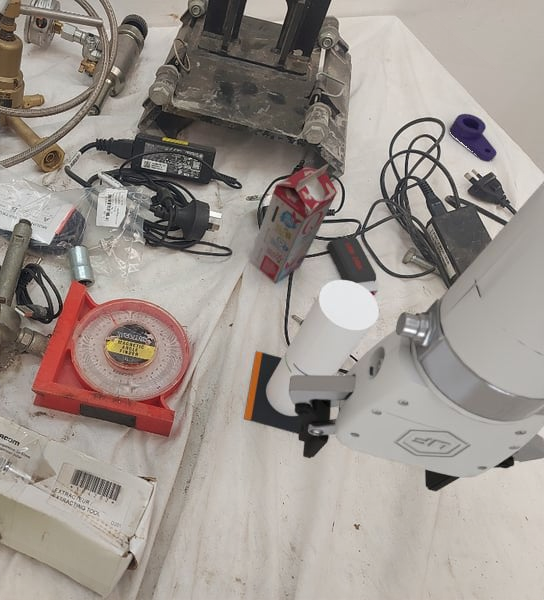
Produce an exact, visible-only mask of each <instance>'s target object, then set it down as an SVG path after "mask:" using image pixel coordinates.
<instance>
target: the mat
mask: <svg viewBox="0 0 544 600" xmlns="http://www.w3.org/2000/svg"><path fill="white" fill-rule="evenodd" d="M281 359H282V357H280V356H276V355H274V354H273V355H272V354H269V353H265V352H261V351H258V350H256V351H255V356H254V361H253V367H252V372H251V377H250V383H249V390H248V395H247V401H246V405H245V410H244V411H245V412H244V417H243V419H244V420H247V421H251V422H254V423H258V424H261V425H265V426H269V427H271V428H277V429H280V430H283V431H287V432H290V433H294V434H298V435H299V428H300V424H301V422H302V421H303V419H302V418H301V417H300V416H299V415H298V416H288V415H284V414H282V413H280V412H278V411H277V410H275V409H274V408H273V407H272V405H271V404H270V403H269V401H268V399H267V395H266V387H267V384H268V382H269V380H270V378H271V377H272V375H273V373H274V371H275V370H276V368H277V366H278V364H279V363H280V361H281Z"/></svg>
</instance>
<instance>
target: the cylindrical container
mask: <svg viewBox="0 0 544 600" xmlns="http://www.w3.org/2000/svg"><path fill="white" fill-rule="evenodd" d="M379 314H380V308H379V304H378V302H377V299H376V297H375V296H373V295H372V294H371V293H370V292H369V291H368V290H367V289H366V288H364V287H363V286H361V285H359V284H358V283H355V282H352V281H347V280H342V279H337V280H336V279H335V280H332V281H329V282H327V283H326V284H325V285H324V286H323V287H322V288H321V290H320V291H319V293H318V295H317V296H316V299H314V302H313V303H312V305H311V306H310V308H309V310H308V312H307V314H306V315H305V317H304V319H303V320H302V323H301V324H300V326H299V328H298V329H297V331H296V333H295V335H294V336H293V338H292V340H291V342H290V343H289V345H288V347H287V349H286V350H285V352H284V354H283V355H282V357H281V358H282V359H281V361H280V363H279V364H278V366H277V368H276V370H275V371H274V373H273V375H272V377H271V378H270V380H269V382H268V384H267V387H266V395H267V399H268V401H269V403H270V404H271V405H272V407H273V408H274V409H275V410H277V411H278V412H280V413H282V414H284V415H288V416H298V414H296V413H295V406H294V404H293V403H292V400H291V398H290V396H289V385H290V377H291V376H293V375H321V376H336V374H337V373H338V371H339V370H340V369H341V367H342V366H343V365H344V364H345V363H346V361H347V360H348V358H349V357H350V356H351V355H352V353H353V352H354V351H355V349H356V348H357V347H358V345H360V343H361V342H362V340H363V339H364V338H365V336H366V335H367V334H368V332H370V330H371V328H372V327H373V326H374V325H375V323H376V322H377V320H378V317H379Z"/></svg>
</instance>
